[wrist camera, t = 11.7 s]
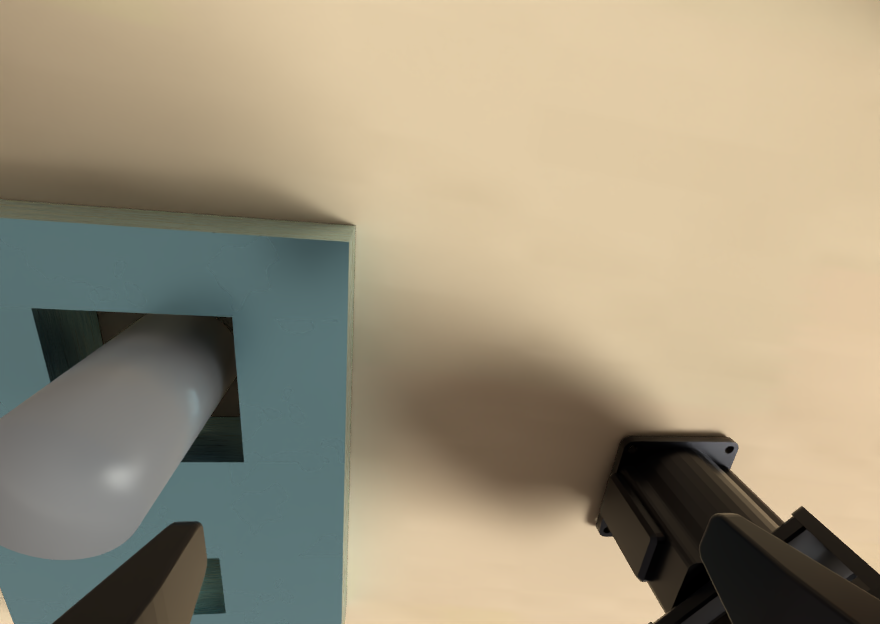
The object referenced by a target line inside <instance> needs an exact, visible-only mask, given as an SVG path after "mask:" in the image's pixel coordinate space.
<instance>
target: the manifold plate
mask: <svg viewBox="0 0 880 624" xmlns="http://www.w3.org/2000/svg"><path fill="white" fill-rule="evenodd" d="M355 232H356V226H354V225H340V224H327V223H313V222H300V221H287V220H273V219H260V218H246V217H233V216H219V215H206V214H192V213H179V212H165V211H152V210H138V209H125V208H111V207H98V206H84V205H71V204H58V203H44V202H31V201H17V200H4V199H0V418H2V417H3V416H4V415H6V414H7V413H9V412H10V411H11V410H13V409H14V408H16V407H17V406H18V405H20V404H21V403H23V402H24V401H25V400H27V399H28V398H30V397H31V396H32V395H34V394H35V393H37V392H38V391H39V390H41V389H42V388H44V387H45V386H46V385H48V384H49V383H51V382H52V381H53V380H55V379H56V378H58V377H59V376H60V375H62V374H63V373H65V372H66V371H67V370H69V369H70V368H72V367H73V366H74V365H76V364H77V363H79V362H80V361H81V360H83V359H84V358H86V357H87V356H89V355H90V354H91V353H93V352H94V351H96V350H97V349H98V348H100V347H101V346H103V342H102V337H101V332H100V327H99V322H98V317H97V312H96V311H106V312H129V313H151V314H173V315H196V316H218V317H232V321H233V333H234V345H235V357H236V370H237V382H238V394H239V406H240V417H210V418H209V419H208V421H207V422H206V424H205V425H204V427H203V428H202V430H201V431H200V433H199V435H198V436H197V438H196V439H195V441H194V442H193V444H192V445H191V447H190V448H189V450H188V451H187V453H186V454H185V456H184V458H183V459H182V461H181V462H180V464H179V465H178V467H177V468H176V470H175V471H174V473H173V474H172V476H171V478H170V479H169V481H168V482H167V484H166V485H165V487H164V488H163V490H162V491H161V493H160V494H159V496H158V498H157V499H156V501H155V502H154V504H153V505H152V507H151V508H150V510H149V511H148V513H147V514H146V516H145V518H144V519H143V521H142V522H141V524H140V525H139V527H138V528H137V530H136V531H135V532H134V534H133V535H132V536H131V537H130V538H129V539H128V540H127V541H126V542H124V543H123V544H121V545H120V546H119V547H117V548H115V549H113V550H111V551H109V552H106V553H104V554H101V555H98V556H94V557H90V558H84V559H76V560H52V559H43V558H38V557H32V556H28V555H25V554H21V553H18V552H15V551H12V550H10V549H7V548H5V547H3V546H1V545H0V588H1V591H2V593H3V596H4V599H5V601H6V604H7V607H8V609H9V612H10V614H11V617H12V620H13V622H14V624H52V623H53V622H54V621H55V620H57V619H58V618H59V617H60V616H61V615H63V614H64V613H65V612H66V611H67V610H68V609H70V608H71V607H72V606H73V605H74V604H76V603H77V602H78V601H79V600H80V599H82V598H83V597H84V596H85V595H86V594H87V593H89V592H90V591H91V590H92V589H93V588H95V587H96V586H97V585H98V584H99V583H101V582H102V581H103V580H104V579H105V578H106V577H108V576H109V575H110V574H111V573H112V572H114V571H115V570H116V569H117V568H118V567H119V566H121V565H122V564H123V563H124V562H125V561H127V560H128V559H129V558H130V557H131V556H133V555H134V554H135V553H136V552H137V551H138V550H140V549H141V548H142V547H143V546H144V545H146V544H147V543H148V542H149V541H150V540H152V539H153V538H154V537H155V536H156V535H157V534H159V533H160V532H161V531H162V530H163V529H165V528H166V527H167V526H168V525H170V524H172V523H173V522H178V521H198V522H200V523H201V524H202V526H203V530H204V538H205V545H206V553H207V567H206V572H205V576H204V579H203V583H202V586H201V589H200V593H199V596H198V599H197V603H196V606H195V609H194V612H193V616H192V619H191V622H190V624H345V615H346V594H347V554H348V514H349V473H350V433H351V393H352V353H353V312H354V272H355Z"/></svg>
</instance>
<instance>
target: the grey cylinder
mask: <svg viewBox="0 0 880 624" xmlns="http://www.w3.org/2000/svg"><path fill="white" fill-rule="evenodd" d="M236 376H237V370H236V357H235V345H234V336H233V334H232V333H231V332H230V330H229V329H228V328H227V327H226V326H225V325H224V324H223V323H222V322H221V321H219V320H218V319H217V318H215V317H214V316H196V315H173V314H151V313H148V314H146V315H145V316H143V317H142V318H140V319H139V320H138V321H136V322H135V323H133V324H132V325H131V326H129V327H128V328H126V329H125V330H124V331H122V332H121V333H119V334H118V335H117V336H115V337H114V338H112V339H111V340H110V341H108V342H107V343H105V344H104V345H103V346H101V347H100V348H98V349H97V350H96V351H94V352H93V353H91V354H90V355H89V356H87V357H86V358H84V359H83V360H81V361H80V362H79V363H77V364H76V365H74V366H73V367H72V368H70V369H69V370H67V371H66V372H65V373H63V374H62V375H60V376H59V377H58V378H56V379H55V380H53V381H52V382H51V383H49V384H48V385H46V386H45V387H44V388H42V389H41V390H39V391H38V392H37V393H35V394H34V395H32V396H31V397H30V398H28V399H27V400H25V401H24V402H23V403H21V404H20V405H18V406H17V407H16V408H14V409H13V410H11V411H10V412H9V413H7V414H6V415H4V416H3V417H2V418H0V545H1V546H3V547H5V548H7V549H10V550H12V551H15V552H18V553H21V554H25V555H28V556H32V557H38V558H43V559H52V560H76V559H84V558H90V557H94V556H98V555H101V554H104V553H106V552H109V551H111V550H113V549H115V548H117V547H119V546H120V545H121V544H123V543H124V542H126V541H127V540H128V539H129V538H130V537H131V536H132V535H133V534H134V532H135V531H136V530H137V528H138V527H139V525H140V524H141V522H142V521H143V519H144V518H145V516H146V514H147V513H148V511H149V510H150V508H151V507H152V505H153V504H154V502H155V501H156V499H157V498H158V496H159V494H160V493H161V491H162V490H163V488H164V487H165V485H166V484H167V482H168V481H169V479H170V478H171V476H172V474H173V473H174V471H175V470H176V468H177V467H178V465H179V464H180V462H181V461H182V459H183V458H184V456H185V454H186V453H187V451H188V450H189V448H190V447H191V445H192V444H193V442H194V441H195V439H196V438H197V436H198V435H199V433H200V431H201V430H202V428H203V427H204V425H205V424H206V422H207V421H208V419H209V418H210V416H211V415H212V413H213V411H214V410H215V408H216V407H217V405H218V404H219V402H220V401H221V399H222V398H223V396H224V395H225V393H226V391H227V390H228V388H229V387H230V385H231V384H232V382H233V381H234V379H235V377H236Z"/></svg>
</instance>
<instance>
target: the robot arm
mask: <svg viewBox="0 0 880 624" xmlns="http://www.w3.org/2000/svg"><path fill="white" fill-rule="evenodd" d="M632 445H633V446H632ZM630 446H632V447H630ZM629 447H630V448H629ZM737 451H738V444H737V443H736V442H734V441H733V440H732V439H731V438H728V437H661V436H629V437H626V438H624V439H623V440H622V441H621V443H620V445H619V448H618V452H617V455H616V459H615V462H614V465H613V469H612V472H611V476H610V477H609V480H608V484H607V487H606V490H605V494H604V497H603V501H602V504H601V507H600V513H599V516H598V520H597V523H596V528H597V529H598V531H599V533H600V535H602V536H605V537H611V536H613V537H614V539H615V540H616V542H617V544H618V546H619V547H620V549H621V551H622V553H623V555H624V556H625V558H626V560H627V562H628V563H629V565H630V567H631V569H632V570H633V572H634V574H635V576H636V577H637V578H638V579H639V580H640V581H642V582H647V583H648V584H649V586H650V588H651V589H652V591H653V593H654V595H655V596H656V598H657V600H658V601H659V603H660V605H661V607H662V608H663V610H664V612H665V613H666V614H664V615H663V616H662V617H661V618H659V619H658V620H657V621H655V622H654V623H652V622H650V623H648V624H880V574H878V573H877V572H876V571H875V570H874V569H873V568H872V567H871V566H869V565H868V564H867V563H866V562H865V561H864V560H863V559H861V558H860V557H859V556H858V555H857V554H856V553H855V552H854V551H852V550H851V549H850V548H849V547H848V546H847V545H846V544H844V543H843V542H842V541H841V540H840V539H839V538H838V537H837V536H835V535H834V534H833V533H832V532H831V531H830V530H829V529H827V528H826V527H825V526H824V525H823V524H822V523H821V522H820V521H818V520H817V519H816V518H815V517H814V516H813V515H812V514H810V513H809V512H808V511H807V510H806V509H805V508H804V507H803V506H801V507H800V508H799V509H797V510H796V511H795V512H793V513H792V515H793V517H792V518H790V519H789V520H788V521H786V522H783V521H782V520H781V519H780V518H779V517H778V516H777V515H776V514H775V513H774V512H773V511H772V510H771V509H770V508H769V507H768V506H767V505H766V504H765V503H764V502H763V501H762V500H761V499H760V498H759V497H758V496H757V495H756V494H755V493H753V492H752V491H751V490H750V489H749V488H748V487H747V486H746V485H745V484H744V483H743V482H742V481H741V480H740V479H739V478H738V477H737V476H736V475H735V474H734V473H733V472H732V471H731V470H730V468H731V466H732V463H733V461H734V458H735V456H736V453H737ZM206 567H207V553H206V545H205V538H204V530H203V526H202V524H201V523H200V522H198V521H178V522H173V523H172V524H170V525H168V526H167V527H166V528H165V529H163V530H162V531H161V532H160V533H159V534H157V535H156V536H155V537H154V538H153V539H152V540H150V541H149V542H148V543H147V544H146V545H144V546H143V547H142V548H141V549H140V550H138V551H137V552H136V553H135V554H134V555H133V556H131V557H130V558H129V559H128V560H127V561H125V562H124V563H123V564H122V565H121V566H119V567H118V568H117V569H116V570H115V571H114V572H112V573H111V574H110V575H109V576H108V577H106V578H105V579H104V580H103V581H102V582H101V583H99V584H98V585H97V586H96V587H95V588H93V589H92V590H91V591H90V592H89V593H87V594H86V595H85V596H84V597H83V598H82V599H80V600H79V601H78V602H77V603H76V604H74V605H73V606H72V607H71V608H70V609H68V610H67V611H66V612H65V613H64V614H63V615H61V616H60V617H59V618H58V619H57V620H55V621H54V622H53V623H52V624H190V622H191V619H192V616H193V612H194V609H195V606H196V603H197V599H198V596H199V593H200V589H201V586H202V583H203V579H204V576H205V572H206Z"/></svg>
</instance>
